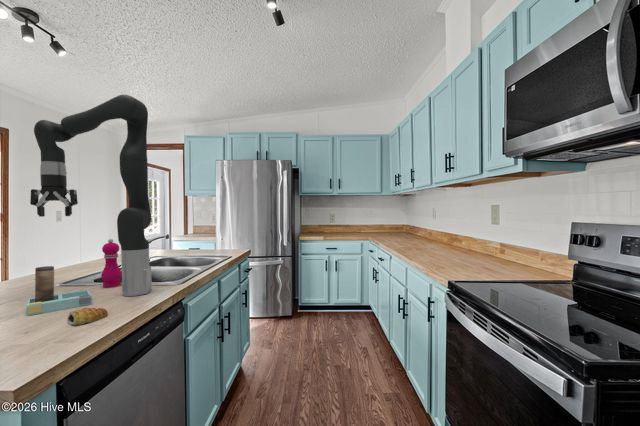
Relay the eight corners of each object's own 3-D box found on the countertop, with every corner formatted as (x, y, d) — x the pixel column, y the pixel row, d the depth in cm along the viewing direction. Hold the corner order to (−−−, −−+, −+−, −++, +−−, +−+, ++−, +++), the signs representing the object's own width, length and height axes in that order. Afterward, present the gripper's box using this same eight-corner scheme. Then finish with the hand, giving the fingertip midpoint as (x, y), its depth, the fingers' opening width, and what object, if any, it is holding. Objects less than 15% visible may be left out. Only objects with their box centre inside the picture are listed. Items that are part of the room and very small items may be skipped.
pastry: (101, 313, 96) (101, 301, 96) (112, 317, 92) (111, 305, 92) (65, 323, 88) (64, 310, 88) (75, 328, 84) (74, 314, 84)
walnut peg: (56, 303, 104) (57, 266, 104) (48, 307, 99) (49, 268, 99) (40, 304, 102) (40, 266, 102) (31, 309, 98) (32, 268, 98)
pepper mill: (99, 289, 123) (98, 240, 123) (103, 285, 130) (101, 238, 129) (121, 286, 127) (119, 239, 126) (123, 282, 133) (121, 237, 133)
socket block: (88, 297, 112) (88, 288, 112) (91, 304, 104) (91, 294, 104) (28, 308, 101) (28, 298, 101) (26, 316, 93) (26, 305, 93)
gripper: (24, 173, 111) (26, 217, 111) (69, 173, 114) (71, 216, 115) (38, 175, 118) (39, 216, 119) (80, 175, 122) (81, 215, 122)
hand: (55, 216), depth 117 cm, fingers open, 8 cm apart
